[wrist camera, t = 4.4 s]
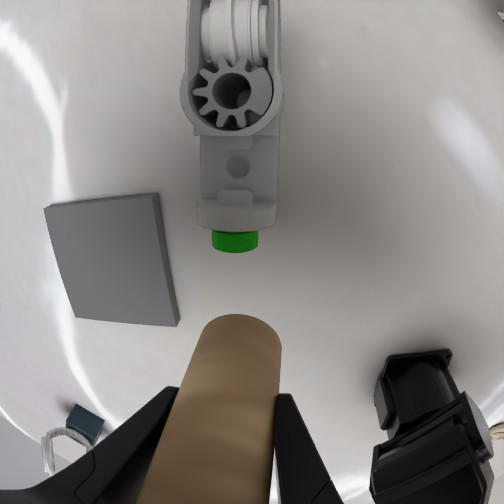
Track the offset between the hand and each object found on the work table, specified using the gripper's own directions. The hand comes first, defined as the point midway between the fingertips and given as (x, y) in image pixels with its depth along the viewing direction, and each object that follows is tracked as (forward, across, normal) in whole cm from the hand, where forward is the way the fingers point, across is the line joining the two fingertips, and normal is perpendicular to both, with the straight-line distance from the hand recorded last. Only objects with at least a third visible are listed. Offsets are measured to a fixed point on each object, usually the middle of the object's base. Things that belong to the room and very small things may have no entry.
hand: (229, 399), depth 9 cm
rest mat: (+13, +12, +1) cm, 17 cm away
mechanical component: (+13, 0, -9) cm, 16 cm away
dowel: (+2, 0, 0) cm, 3 cm away
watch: (+13, +25, +25) cm, 38 cm away
